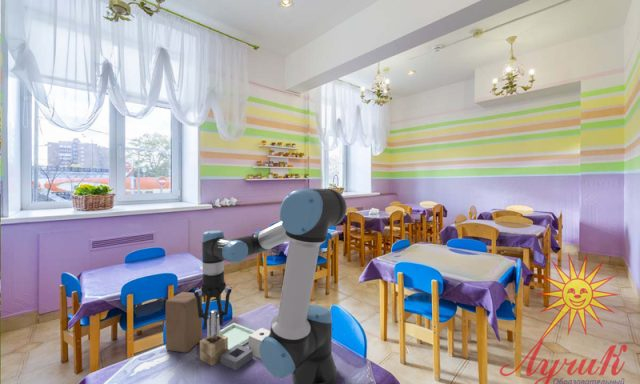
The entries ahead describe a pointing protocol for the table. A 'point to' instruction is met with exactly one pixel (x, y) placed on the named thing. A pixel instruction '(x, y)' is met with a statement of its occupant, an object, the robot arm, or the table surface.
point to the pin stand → (243, 357)
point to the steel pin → (213, 326)
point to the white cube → (257, 340)
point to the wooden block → (182, 322)
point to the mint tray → (236, 334)
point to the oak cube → (213, 349)
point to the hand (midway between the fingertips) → (213, 333)
